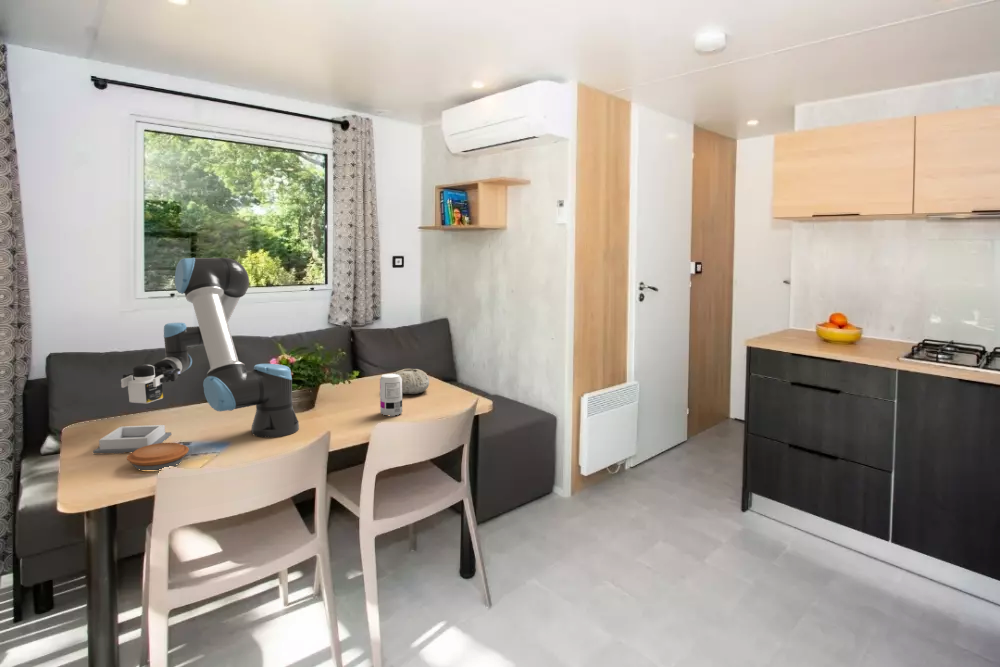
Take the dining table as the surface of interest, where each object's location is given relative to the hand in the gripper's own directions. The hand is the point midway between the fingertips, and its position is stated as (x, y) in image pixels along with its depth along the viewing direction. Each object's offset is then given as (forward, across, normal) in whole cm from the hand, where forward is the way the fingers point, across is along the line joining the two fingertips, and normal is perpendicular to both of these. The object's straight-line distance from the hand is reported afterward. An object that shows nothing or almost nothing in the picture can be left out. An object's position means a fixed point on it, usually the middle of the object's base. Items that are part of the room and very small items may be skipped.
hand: (138, 383), depth 188 cm
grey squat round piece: (-48, -88, -18) cm, 102 cm away
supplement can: (-16, -81, -18) cm, 85 cm away
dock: (+9, -1, -18) cm, 20 cm away
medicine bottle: (-5, 0, -7) cm, 9 cm away
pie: (+28, -16, -18) cm, 37 cm away
